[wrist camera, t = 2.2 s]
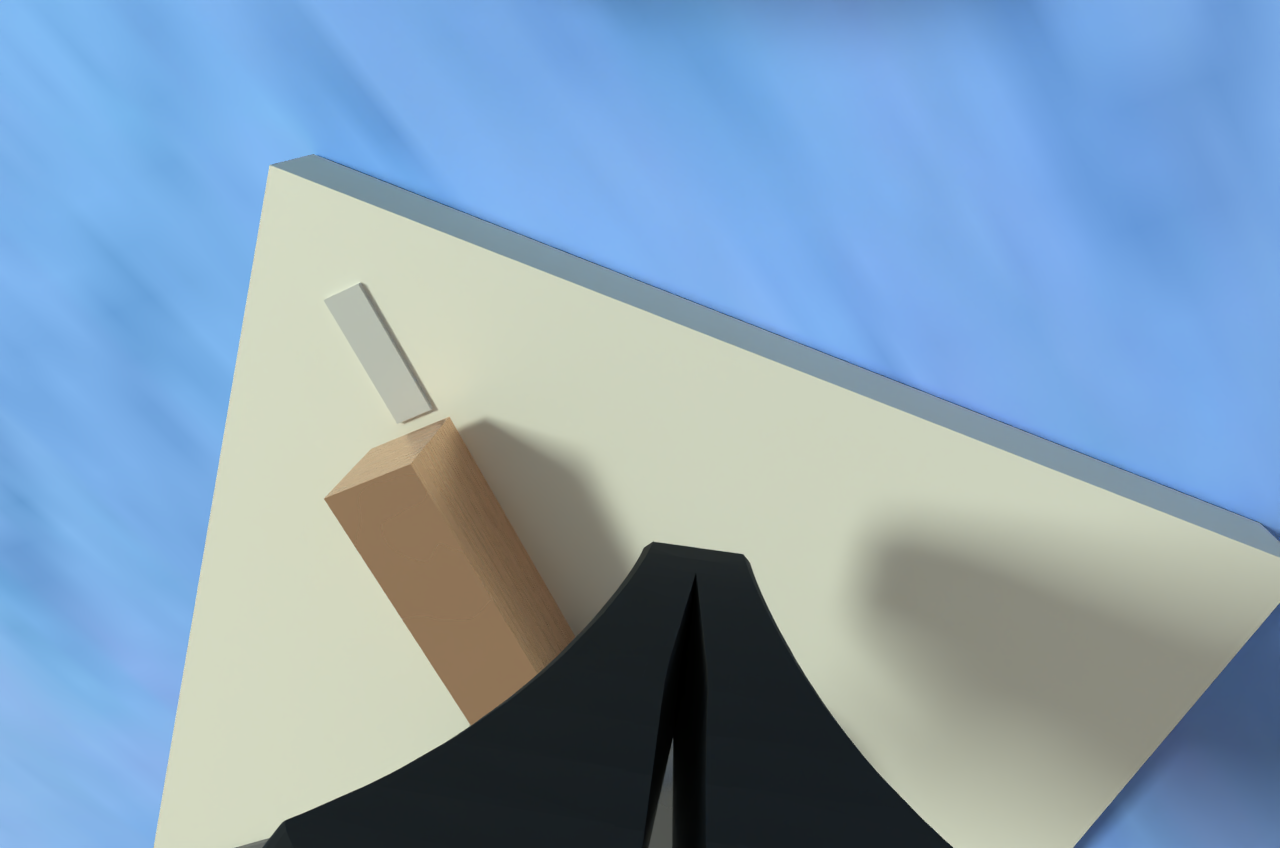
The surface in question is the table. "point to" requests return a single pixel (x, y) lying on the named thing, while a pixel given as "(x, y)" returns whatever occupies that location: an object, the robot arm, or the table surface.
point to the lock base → (673, 528)
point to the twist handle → (458, 573)
